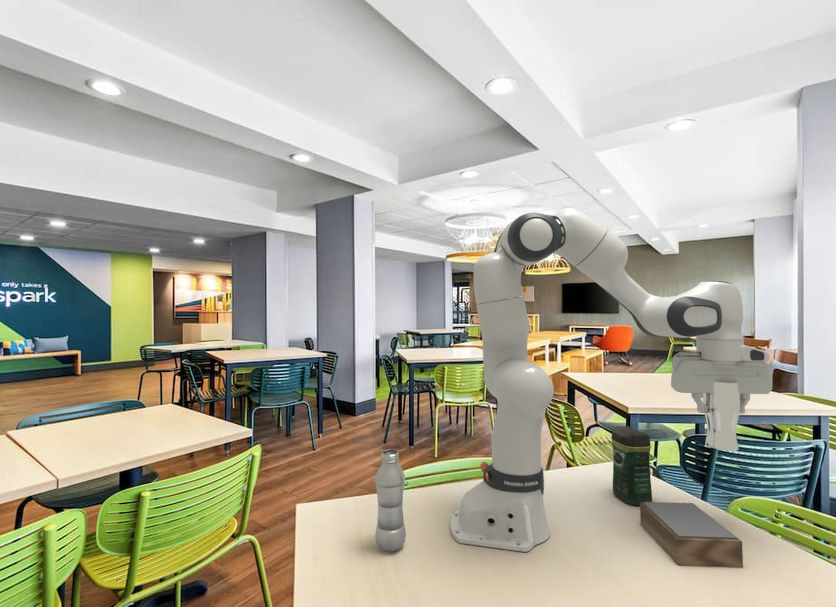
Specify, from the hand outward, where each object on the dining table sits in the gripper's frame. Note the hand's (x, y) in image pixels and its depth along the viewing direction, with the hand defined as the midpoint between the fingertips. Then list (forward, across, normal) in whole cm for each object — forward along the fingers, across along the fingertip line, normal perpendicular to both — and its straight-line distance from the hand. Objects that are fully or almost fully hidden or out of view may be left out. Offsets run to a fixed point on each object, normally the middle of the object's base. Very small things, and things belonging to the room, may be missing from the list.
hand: (720, 412), depth 95 cm
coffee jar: (+27, -13, +16) cm, 34 cm away
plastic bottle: (+27, -74, -11) cm, 80 cm away
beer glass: (+8, 0, 0) cm, 8 cm away
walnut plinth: (+27, -11, -6) cm, 29 cm away
